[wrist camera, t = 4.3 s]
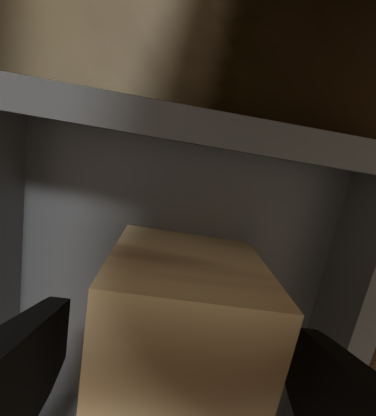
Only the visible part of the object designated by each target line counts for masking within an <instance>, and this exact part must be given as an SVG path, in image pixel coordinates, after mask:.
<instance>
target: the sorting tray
mask: <svg viewBox="0 0 376 416" xmlns="http://www.w3.org/2000/svg"><path fill="white" fill-rule="evenodd" d="M127 225H133V226H140V227H147V228H154V229H161V230H167V231H174V232H181V233H188V234H195V235H202V236H209V237H215V238H222V239H229V240H236V241H243V242H249V243H250V244H251V246H252V247H253V248H254V250H255V251H256V252H257V254H258V255H259V256H260V258H261V259H262V260H263V262H264V263H265V264H266V266H267V267H268V268H269V270H270V271H271V272H272V274H273V275H274V276H275V278H276V279H277V280H278V281H279V283H280V284H281V285H282V287H283V288H284V289H285V291H286V292H287V293H288V295H289V296H290V297H291V299H292V300H293V301H294V303H295V304H296V305H297V307H298V308H299V309H300V311H301V312H302V313H303V315H304V319H303V322H302V326H301V328H308V329H316V330H319V331H320V332H322V333H324V334H325V335H327V336H328V337H330V338H331V339H333V340H334V341H335V342H337V343H338V344H340V345H341V346H342V347H344V348H345V349H346V350H348V351H349V352H351V353H352V354H353V355H355V356H356V357H357V358H359V359H360V360H361V361H363V362H364V363H365V364H367V365H368V366H369V364H370V362H371V359H372V356H373V353H374V351H375V348H376V139H371V138H365V137H360V136H354V135H349V134H343V133H338V132H332V131H327V130H322V129H316V128H311V127H305V126H300V125H294V124H289V123H283V122H278V121H272V120H267V119H262V118H256V117H251V116H245V115H240V114H234V113H229V112H223V111H218V110H212V109H207V108H201V107H196V106H191V105H185V104H180V103H174V102H169V101H163V100H158V99H152V98H147V97H141V96H136V95H131V94H125V93H120V92H114V91H109V90H103V89H98V88H92V87H87V86H81V85H76V84H71V83H65V82H60V81H54V80H49V79H43V78H38V77H32V76H27V75H21V74H16V73H11V72H5V71H0V325H1V324H2V323H4V322H6V321H8V320H9V319H11V318H13V317H15V316H16V315H18V314H20V313H21V312H23V311H25V310H27V309H28V308H30V307H32V306H33V305H35V304H37V303H39V302H40V301H42V300H44V299H46V298H48V297H50V296H52V297H60V298H68V299H71V301H70V313H69V326H68V338H67V350H66V358H65V360H64V363H63V365H62V368H61V370H60V372H59V375H58V377H57V380H56V382H55V384H54V386H53V389H52V391H51V393H50V395H49V397H48V399H47V401H46V403H45V404H44V406H43V408H42V410H41V412H40V414H39V415H38V416H76V414H77V404H78V394H79V384H80V373H81V363H82V353H83V342H84V332H85V322H86V312H87V301H88V291H89V287H90V286H91V284H92V282H93V281H94V279H95V277H96V276H97V274H98V272H99V271H100V269H101V268H102V266H103V264H104V263H105V261H106V259H107V258H108V256H109V254H110V253H111V251H112V249H113V248H114V246H115V244H116V243H117V241H118V239H119V238H120V236H121V235H122V233H123V231H124V230H125V228H126V226H127ZM275 416H294V413H293V410H292V407H291V404H290V401H289V397H288V394H287V390H286V386H285V384H284V388H283V391H282V395H281V398H280V401H279V405H278V408H277V412H276V415H275Z"/></svg>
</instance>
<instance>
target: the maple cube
mask: <svg viewBox="0 0 376 416" xmlns="http://www.w3.org/2000/svg"><path fill="white" fill-rule="evenodd" d="M303 319H304V315H303V313H302V312H301V311H300V309H299V308H298V307H297V305H296V304H295V303H294V301H293V300H292V299H291V297H290V296H289V295H288V293H287V292H286V291H285V289H284V288H283V287H282V285H281V284H280V283H279V281H278V280H277V279H276V278H275V276H274V275H273V274H272V272H271V271H270V270H269V268H268V267H267V266H266V264H265V263H264V262H263V260H262V259H261V258H260V256H259V255H258V254H257V252H256V251H255V250H254V248H253V247H252V246H251V244H250V243H249V242H243V241H236V240H229V239H222V238H215V237H209V236H202V235H195V234H188V233H181V232H174V231H167V230H161V229H154V228H147V227H140V226H133V225H127V226H126V228H125V230H124V231H123V233H122V235H121V236H120V238H119V239H118V241H117V243H116V244H115V246H114V248H113V249H112V251H111V253H110V254H109V256H108V258H107V259H106V261H105V263H104V264H103V266H102V268H101V269H100V271H99V272H98V274H97V276H96V277H95V279H94V281H93V282H92V284H91V286H90V287H89V291H88V301H87V312H86V322H85V332H84V342H83V353H82V363H81V373H80V384H79V394H78V404H77V414H76V416H275V415H276V412H277V408H278V405H279V401H280V398H281V395H282V391H283V388H284V384H285V381H286V377H287V374H288V370H289V367H290V363H291V360H292V357H293V353H294V350H295V346H296V343H297V339H298V336H299V332H300V329H301V326H302V322H303Z"/></svg>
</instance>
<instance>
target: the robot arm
mask: <svg viewBox="0 0 376 416" xmlns="http://www.w3.org/2000/svg"><path fill="white" fill-rule="evenodd" d="M70 301H71V299H68V298H60V297H52V296H50V297H48V298H46V299H44V300H42V301H40V302H39V303H37V304H35V305H33V306H32V307H30V308H28V309H27V310H25V311H23V312H21V313H20V314H18V315H16V316H15V317H13V318H11V319H9V320H8V321H6V322H4V323H2V324H1V325H0V416H38V415H39V414H40V412H41V410H42V408H43V406H44V404H45V403H46V401H47V399H48V397H49V395H50V393H51V391H52V389H53V386H54V384H55V382H56V380H57V377H58V375H59V372H60V370H61V368H62V365H63V363H64V360H65V358H66V350H67V338H68V326H69V313H70ZM285 386H286V390H287V394H288V397H289V401H290V404H291V407H292V410H293V413H294V416H376V371H375V370H373V369H372V368H371V367H369V366H368V365H367V364H365V363H364V362H363V361H361V360H360V359H359V358H357V357H356V356H355V355H353V354H352V353H351V352H349V351H348V350H346V349H345V348H344V347H342V346H341V345H340V344H338V343H337V342H335V341H334V340H333V339H331V338H330V337H328V336H327V335H325V334H324V333H322V332H320V331H319V330H316V329H308V328H301V329H300V332H299V336H298V339H297V343H296V346H295V350H294V353H293V357H292V360H291V363H290V367H289V370H288V374H287V377H286V381H285Z"/></svg>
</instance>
